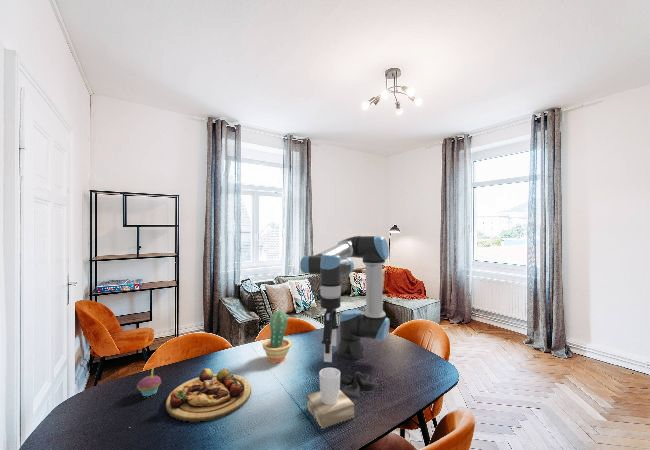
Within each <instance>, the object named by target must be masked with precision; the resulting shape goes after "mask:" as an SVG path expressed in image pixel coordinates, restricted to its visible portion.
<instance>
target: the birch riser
mask: <svg viewBox="0 0 650 450" xmlns="http://www.w3.org/2000/svg"><path fill="white" fill-rule="evenodd" d="M307 408H308V409H307ZM306 409H307V410H308V411H309V412H311V413H312V414H311V413H310V414H311V415H313V416H314V417H313V418H314V420H315V419H316V420H315V421H316V423H317V422H318V423H317V424H318V425H319V427H320V426H321V427H320V428H321V429H322V430H323V428H324V429H326V428H325V427H327V426H330V425H333V424H335V425H337V424H336V423H338V424H340V423H339V422H341V423H343V422H342V421H344V422H346V421H345V420H347V421H349V420H348V419H350V420H352V419H351V418H353V419H354V418H355V403H354V402H353V401H352V400H351V399H350V398H349V396H346V395H345V394H344V393H343V392H342V390H341V389H340V392H339V401H338V402H337V403H336V404H333V405H327V404H324V403H323V402H322V401H321V393H320V390H319V391H316V392H311V393H309V394H307V395H306ZM333 426H334V425H333ZM330 427H331V426H330ZM327 428H328V427H327Z"/></svg>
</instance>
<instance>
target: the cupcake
mask: <svg viewBox="0 0 650 450" xmlns="http://www.w3.org/2000/svg"><path fill="white" fill-rule="evenodd" d="M154 369H155V368H154V367H151V371H150V372H151V373H150V375H147V376H145V377H143V378H142V379H140V380H139V381H138V383H137V384H136V389H137V390H138V391H139V392H141V395H142V397H143V396H150V395H152V394H155V393H156V394H157V391H158V389H159V386H160V385H161V384H162V379H161V377H160V376H158V375H155V374H154ZM156 394H155V395H156Z"/></svg>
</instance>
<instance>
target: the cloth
mask: <svg viewBox="0 0 650 450" xmlns="http://www.w3.org/2000/svg"><path fill="white" fill-rule="evenodd" d="M370 380H371V376H370V375H369V374H367V373H361V372H360V371H355V372H354V374H353V376H352V375H350V374H343V375H342V376H340V384H341V383H342V384H345V385H346V384H347V385H346V386H344V387H342V390H341V391H342V392H343V393H344V394H345V395H346V396H347V397H349V396H350V397H351V398H354V397H355V398H354V399H360V397H361V398H362V396H361V391H362V390H363V391H364V394H366V395H371V394H374V393H375V391H373V390H375V389H377V388H378V387H379V386H380V384H379V383H378V382H374V381H370Z"/></svg>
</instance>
